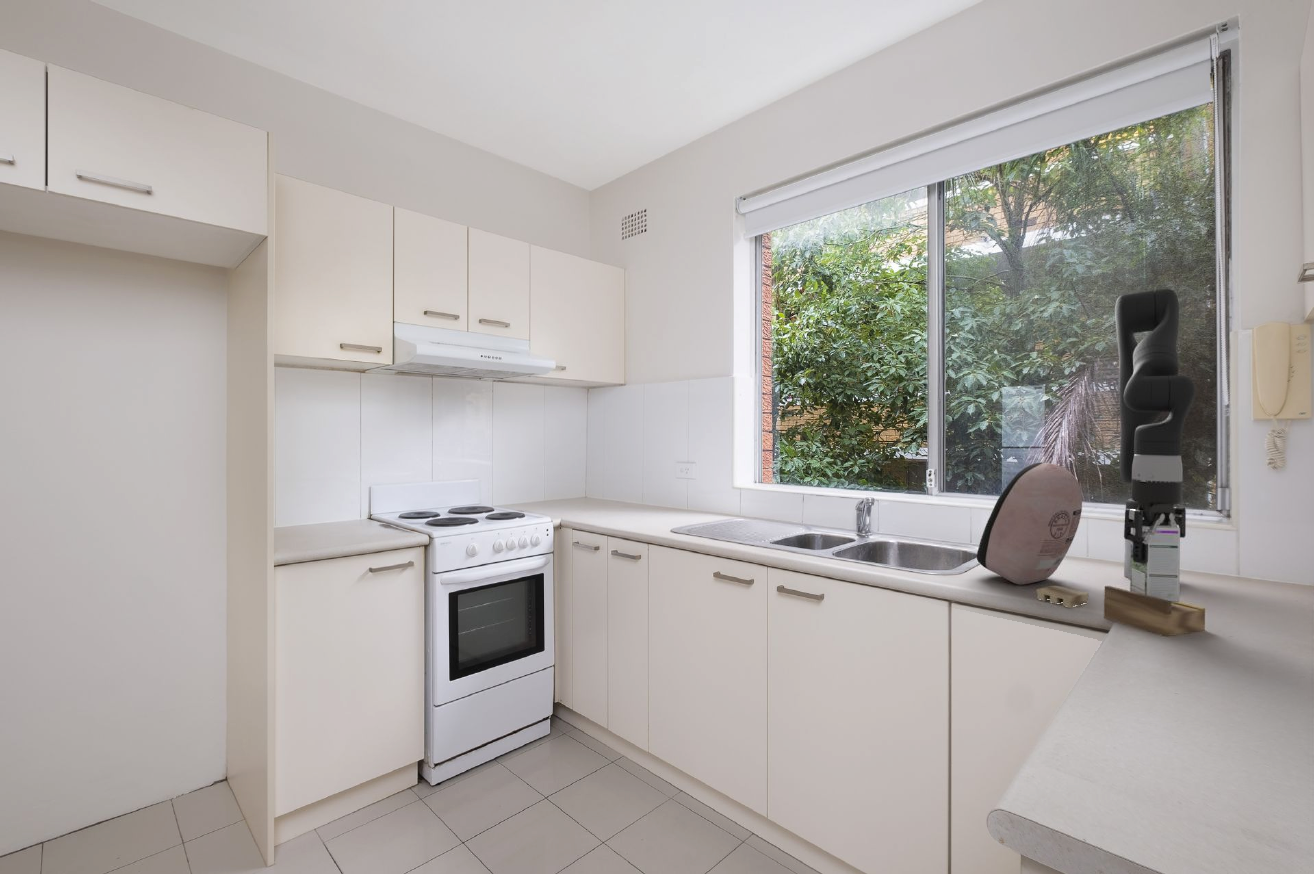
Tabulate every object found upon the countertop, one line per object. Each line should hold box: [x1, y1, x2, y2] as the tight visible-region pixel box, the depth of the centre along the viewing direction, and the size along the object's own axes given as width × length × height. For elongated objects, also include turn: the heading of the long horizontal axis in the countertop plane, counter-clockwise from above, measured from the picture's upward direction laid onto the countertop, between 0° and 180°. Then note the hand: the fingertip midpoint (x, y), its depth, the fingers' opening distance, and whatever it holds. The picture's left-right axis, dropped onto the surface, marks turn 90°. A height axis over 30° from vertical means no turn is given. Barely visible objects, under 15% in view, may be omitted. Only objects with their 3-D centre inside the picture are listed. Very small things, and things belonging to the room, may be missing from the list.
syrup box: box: [1129, 525, 1181, 602], centre depth 115 cm, size 6×6×14 cm
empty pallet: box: [1036, 585, 1089, 609], centre depth 129 cm, size 7×7×2 cm
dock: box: [1103, 585, 1206, 637], centre depth 115 cm, size 11×11×6 cm
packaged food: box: [976, 461, 1083, 586], centre depth 145 cm, size 22×20×30 cm
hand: (1154, 561), depth 115 cm, fingers closed on syrup box, 8 cm apart
